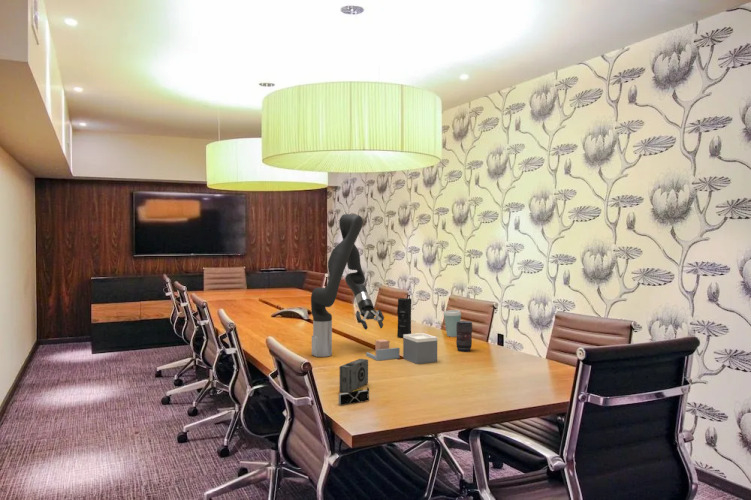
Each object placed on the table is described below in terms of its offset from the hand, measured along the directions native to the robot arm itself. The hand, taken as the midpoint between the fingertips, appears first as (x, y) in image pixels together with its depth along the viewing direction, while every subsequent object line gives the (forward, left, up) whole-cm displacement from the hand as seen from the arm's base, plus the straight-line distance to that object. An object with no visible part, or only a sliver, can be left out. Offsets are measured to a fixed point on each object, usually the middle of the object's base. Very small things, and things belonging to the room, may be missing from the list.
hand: (374, 327), depth 270 cm
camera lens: (+45, -14, -13) cm, 49 cm away
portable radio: (+35, +32, -13) cm, 49 cm away
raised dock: (+13, -23, -13) cm, 29 cm away
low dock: (0, -9, -13) cm, 16 cm away
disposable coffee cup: (+63, +23, -13) cm, 68 cm away
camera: (-35, -53, -13) cm, 65 cm away
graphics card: (-42, -70, -13) cm, 82 cm away
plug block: (0, -9, -13) cm, 16 cm away
